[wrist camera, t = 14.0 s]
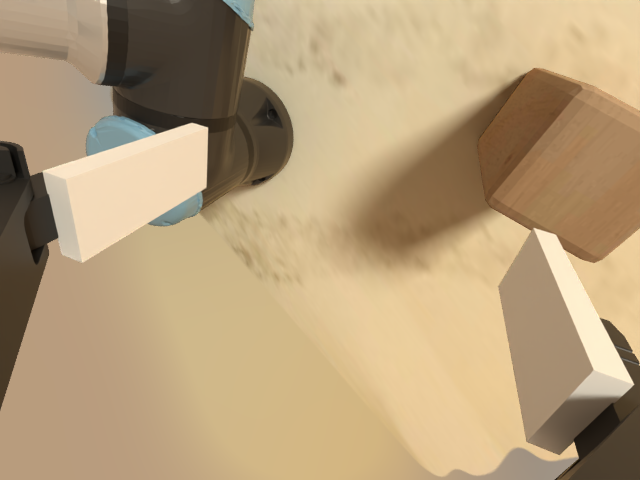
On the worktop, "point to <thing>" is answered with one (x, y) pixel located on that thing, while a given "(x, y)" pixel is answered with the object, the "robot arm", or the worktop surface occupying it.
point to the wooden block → (565, 163)
